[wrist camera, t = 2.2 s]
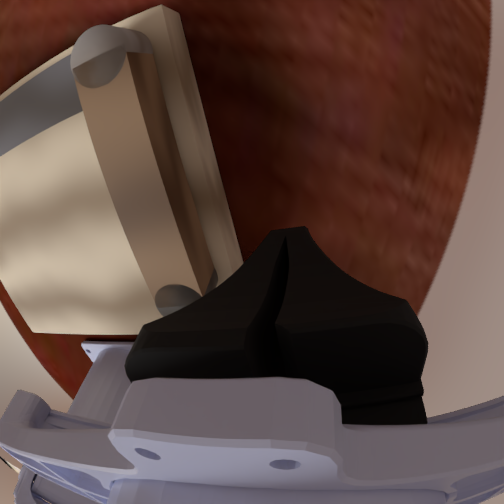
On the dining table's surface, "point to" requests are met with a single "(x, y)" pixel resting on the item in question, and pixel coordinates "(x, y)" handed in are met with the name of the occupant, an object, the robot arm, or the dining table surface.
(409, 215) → the dining table surface
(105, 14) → the dining table surface
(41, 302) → the maple seat
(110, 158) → the walnut leg
